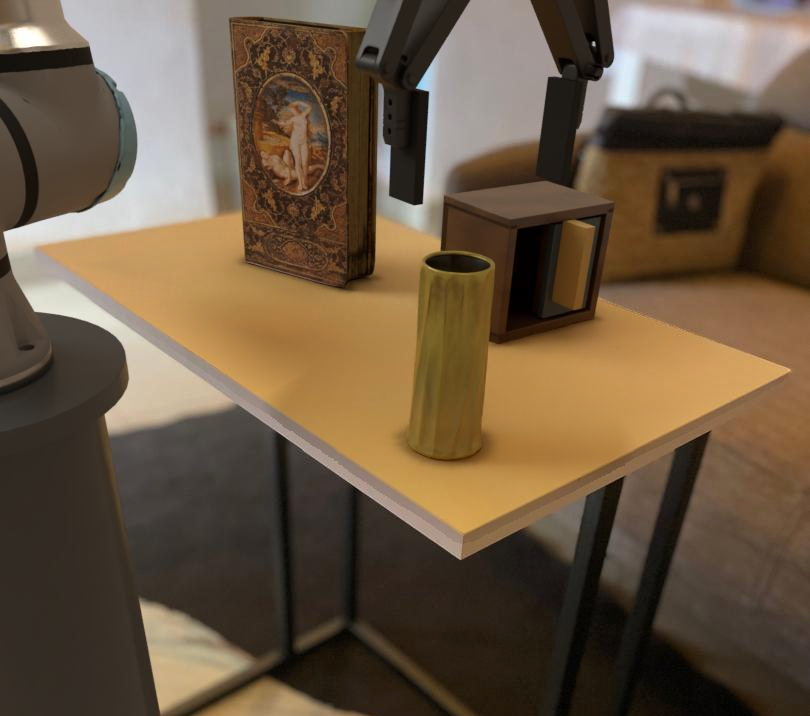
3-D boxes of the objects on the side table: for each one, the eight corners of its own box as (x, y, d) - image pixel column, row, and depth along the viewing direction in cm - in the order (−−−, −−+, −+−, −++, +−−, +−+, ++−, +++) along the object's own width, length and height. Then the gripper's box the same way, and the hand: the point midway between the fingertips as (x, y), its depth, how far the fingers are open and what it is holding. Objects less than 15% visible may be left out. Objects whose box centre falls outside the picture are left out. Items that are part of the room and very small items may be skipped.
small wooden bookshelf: (435, 312, 90) (443, 194, 83) (531, 290, 97) (545, 180, 90) (497, 343, 83) (511, 219, 76) (594, 318, 90) (615, 202, 83)
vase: (399, 455, 65) (407, 270, 56) (413, 419, 69) (422, 244, 61) (477, 465, 64) (497, 279, 55) (486, 428, 69) (505, 253, 60)
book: (237, 260, 101) (220, 17, 87) (268, 250, 105) (256, 15, 90) (346, 290, 94) (347, 31, 80) (374, 278, 98) (380, 29, 83)
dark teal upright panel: (536, 316, 87) (550, 219, 81) (580, 305, 90) (596, 211, 84) (563, 328, 84) (579, 229, 78) (607, 317, 87) (625, 221, 82)
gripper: (378, -266, 37) (368, 225, 50) (716, -195, 50) (641, 182, 62) (290, -249, 42) (301, 196, 54) (620, -188, 55) (567, 161, 67)
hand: (483, 189), depth 58 cm, fingers open, 13 cm apart
